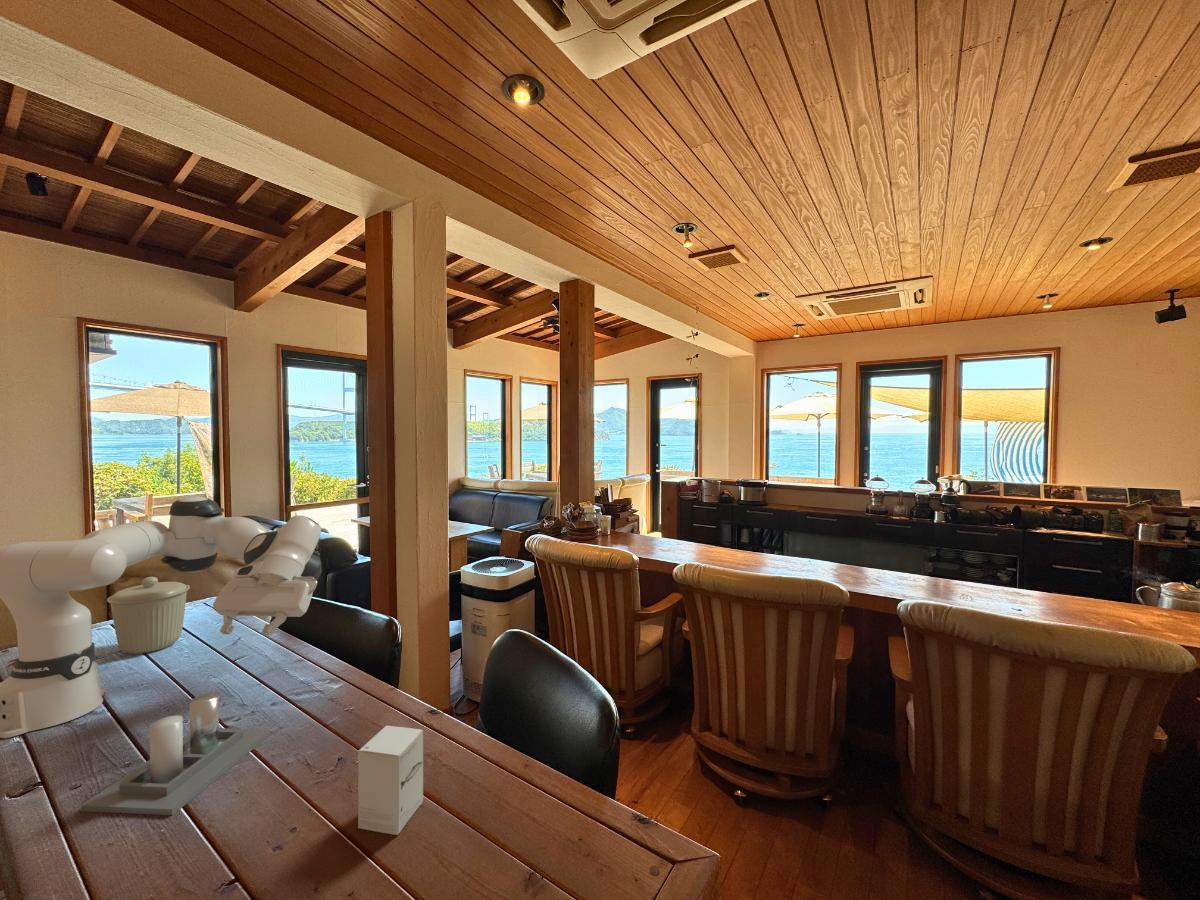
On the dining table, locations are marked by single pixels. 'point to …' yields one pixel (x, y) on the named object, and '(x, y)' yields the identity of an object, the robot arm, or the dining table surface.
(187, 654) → the dining table surface
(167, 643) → the canister
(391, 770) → the supplement box
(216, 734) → the cylinder
